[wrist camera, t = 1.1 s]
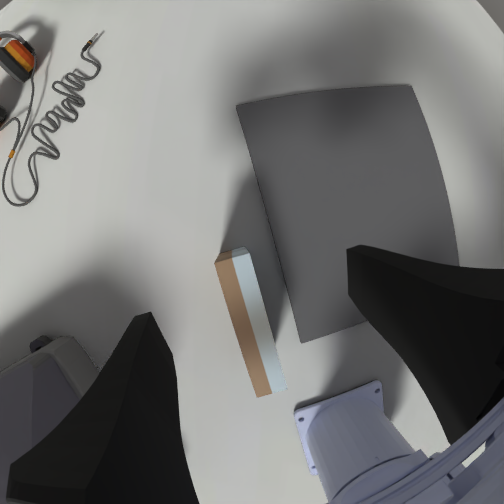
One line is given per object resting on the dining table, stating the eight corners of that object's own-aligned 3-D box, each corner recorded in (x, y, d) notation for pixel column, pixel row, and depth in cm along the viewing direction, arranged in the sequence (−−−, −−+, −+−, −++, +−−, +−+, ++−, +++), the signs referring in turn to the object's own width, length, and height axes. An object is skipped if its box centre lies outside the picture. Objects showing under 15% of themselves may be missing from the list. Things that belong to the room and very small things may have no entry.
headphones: (19, 220, 16) (-87, 142, 10) (44, 216, 21) (-61, 146, 15) (128, 31, 16) (-5, -1, 10) (134, 58, 21) (11, 19, 15)
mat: (457, 277, 22) (460, 278, 21) (300, 341, 21) (301, 343, 21) (409, 87, 20) (411, 85, 20) (236, 107, 20) (236, 105, 19)
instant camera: (58, 488, 21) (20, 557, 6) (-28, 355, 19) (-107, 401, 4) (197, 489, 22) (188, 603, 7) (96, 317, 20) (-36, 411, 5)
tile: (273, 349, 21) (287, 389, 15) (250, 355, 21) (256, 397, 15) (244, 246, 20) (249, 253, 14) (219, 253, 20) (214, 263, 14)
